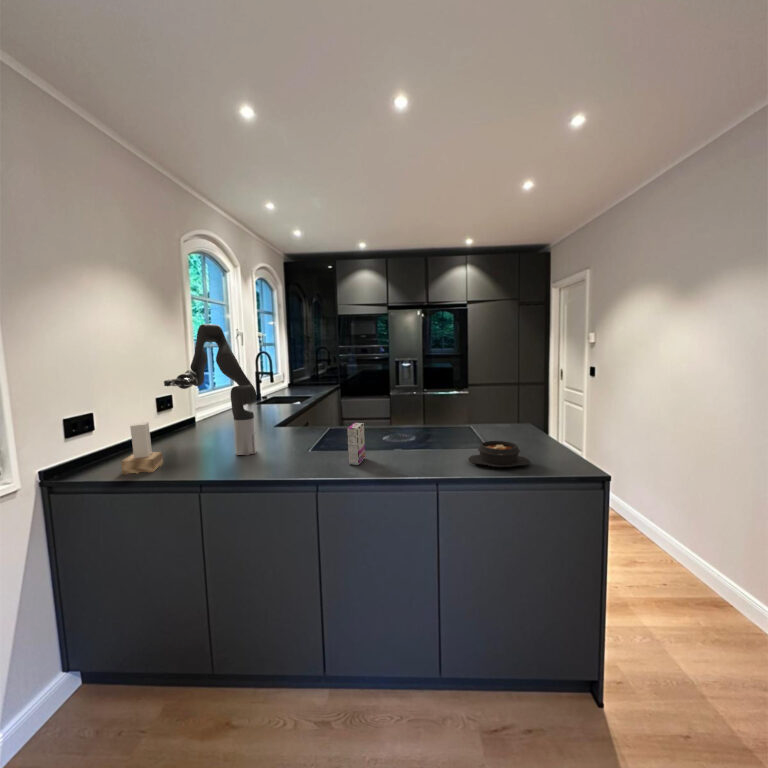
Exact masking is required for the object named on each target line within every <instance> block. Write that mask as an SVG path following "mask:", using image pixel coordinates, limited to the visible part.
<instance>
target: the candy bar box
mask: <svg viewBox="0 0 768 768" xmlns="http://www.w3.org/2000/svg"><path fill="white" fill-rule="evenodd" d="M346 432H347V449H348V450H347V451H348V455H347V456H348V464H349V463H360V462H361V461H362V459H363V458H364V457H365V458H366V444H365V443H366V442H365V440H366V439H365V423H364V422H363V423H362V422H354V423H352V424H351V425H350V426H349V427H347V428H346Z"/></svg>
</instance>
